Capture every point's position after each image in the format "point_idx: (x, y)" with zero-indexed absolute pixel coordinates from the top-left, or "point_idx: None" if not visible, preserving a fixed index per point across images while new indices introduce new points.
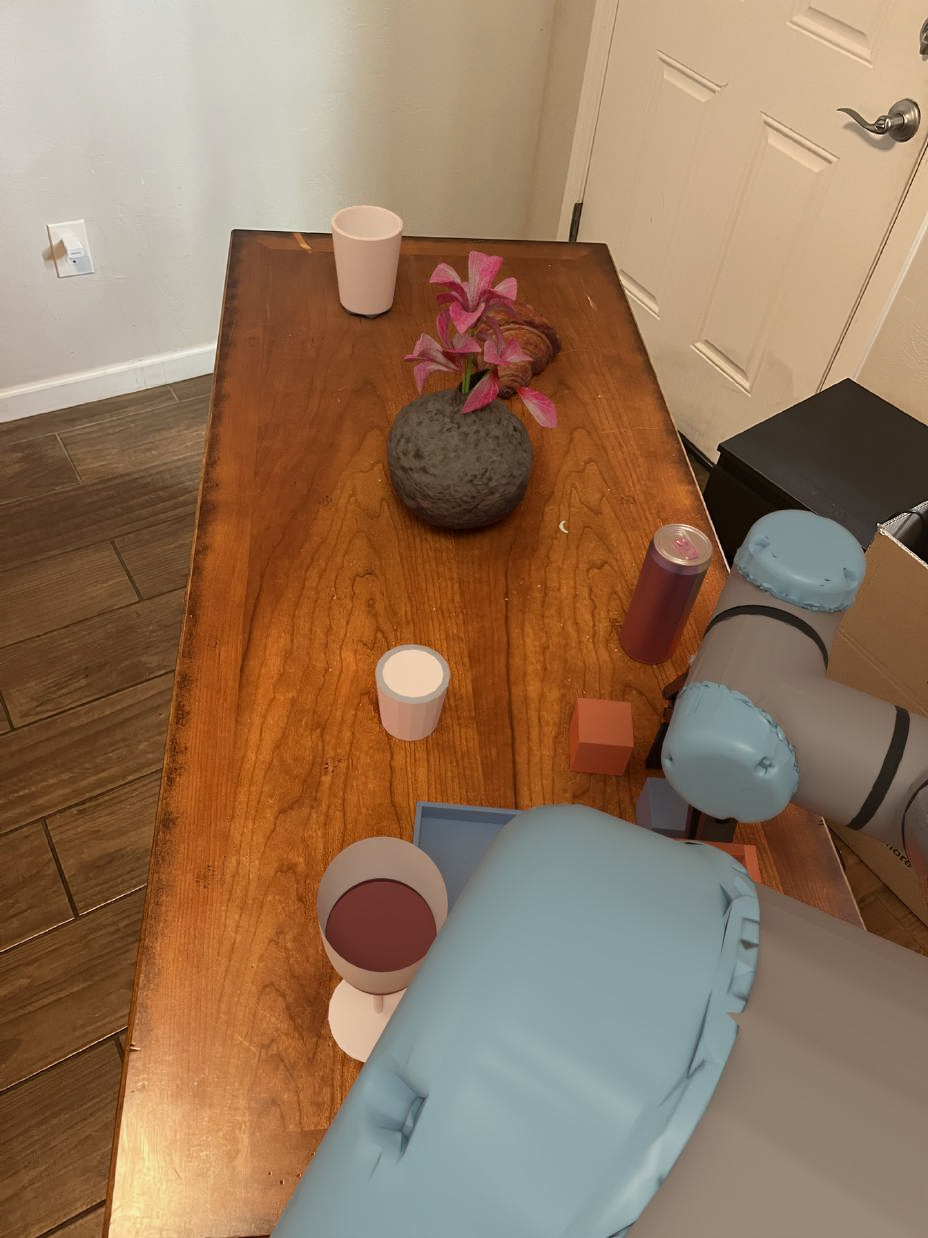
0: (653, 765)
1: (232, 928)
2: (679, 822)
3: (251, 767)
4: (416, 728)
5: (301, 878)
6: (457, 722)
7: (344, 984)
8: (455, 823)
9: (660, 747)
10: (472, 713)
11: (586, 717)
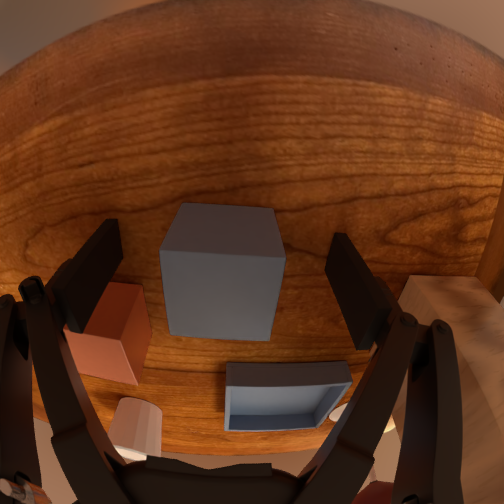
0: (118, 255)
1: (295, 443)
2: (259, 305)
3: (202, 445)
4: (158, 424)
5: (271, 435)
6: (132, 390)
7: (336, 420)
8: (232, 404)
9: (99, 287)
10: (119, 382)
11: (100, 373)
